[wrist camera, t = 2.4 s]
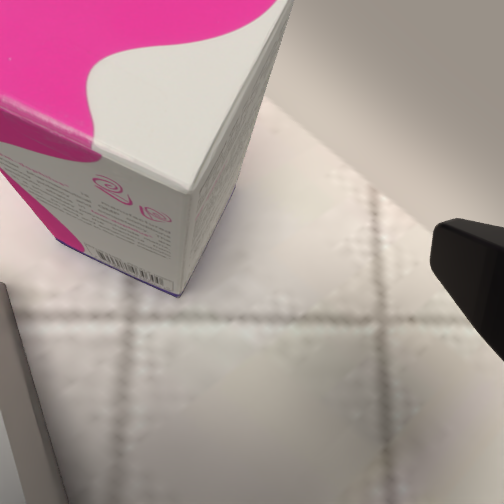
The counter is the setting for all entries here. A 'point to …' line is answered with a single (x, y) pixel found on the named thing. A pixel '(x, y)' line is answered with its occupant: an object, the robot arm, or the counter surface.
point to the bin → (23, 425)
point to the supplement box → (133, 120)
